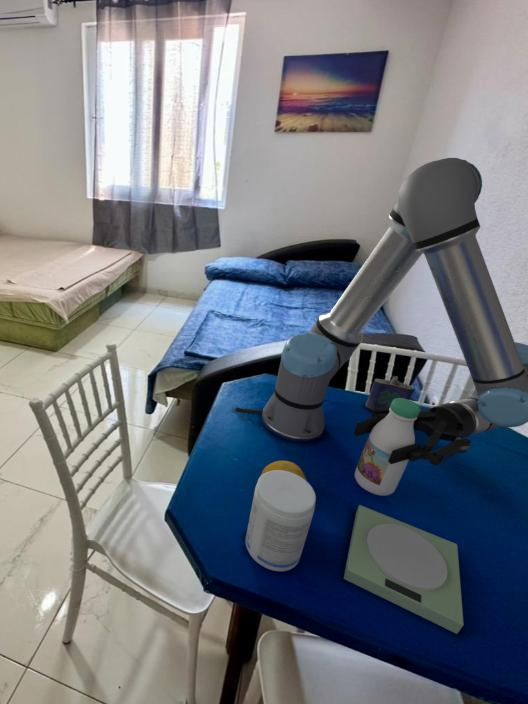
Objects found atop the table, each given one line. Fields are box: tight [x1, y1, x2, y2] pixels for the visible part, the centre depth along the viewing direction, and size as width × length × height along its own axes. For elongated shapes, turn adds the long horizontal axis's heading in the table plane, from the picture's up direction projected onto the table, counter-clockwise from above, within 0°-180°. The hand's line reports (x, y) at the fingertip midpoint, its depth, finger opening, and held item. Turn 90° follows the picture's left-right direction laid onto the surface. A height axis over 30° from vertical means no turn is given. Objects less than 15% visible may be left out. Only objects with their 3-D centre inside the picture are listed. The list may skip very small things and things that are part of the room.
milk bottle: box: [354, 398, 421, 497], centre depth 80 cm, size 8×8×20 cm
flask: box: [365, 375, 414, 412], centre depth 109 cm, size 9×3×11 cm, turn 65°
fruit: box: [260, 460, 307, 481], centre depth 82 cm, size 9×8×8 cm
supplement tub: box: [245, 470, 317, 572], centre depth 69 cm, size 10×10×15 cm
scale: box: [343, 504, 465, 635], centre depth 70 cm, size 16×16×3 cm
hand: (373, 442), depth 77 cm, fingers closed on milk bottle, 7 cm apart
